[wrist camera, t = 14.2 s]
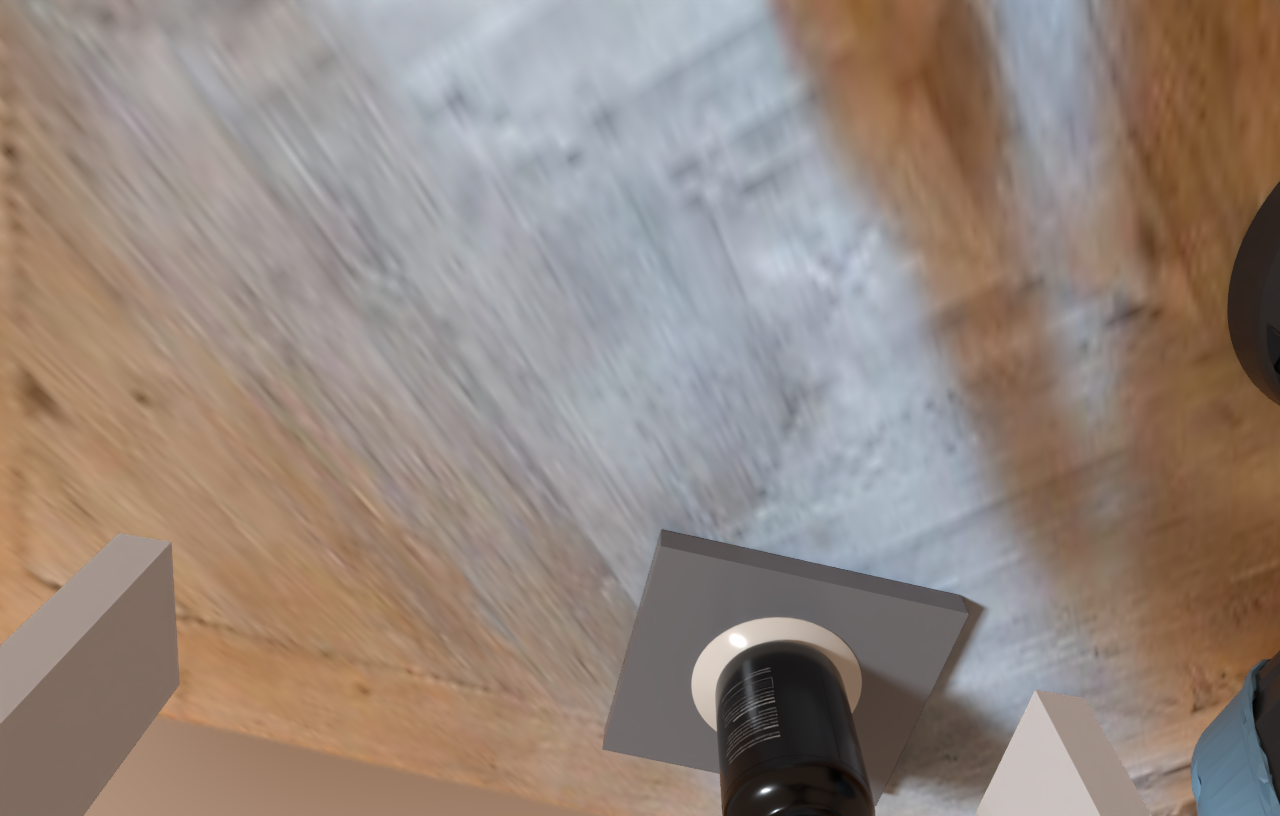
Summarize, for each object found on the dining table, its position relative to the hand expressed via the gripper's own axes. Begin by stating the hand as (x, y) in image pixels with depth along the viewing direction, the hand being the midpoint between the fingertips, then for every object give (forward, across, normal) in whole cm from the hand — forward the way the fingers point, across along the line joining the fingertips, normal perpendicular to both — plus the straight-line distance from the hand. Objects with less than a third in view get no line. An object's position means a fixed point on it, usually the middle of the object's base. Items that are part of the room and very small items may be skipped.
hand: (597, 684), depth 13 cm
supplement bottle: (+26, -11, +22) cm, 36 cm away
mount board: (+28, -11, +22) cm, 37 cm away
